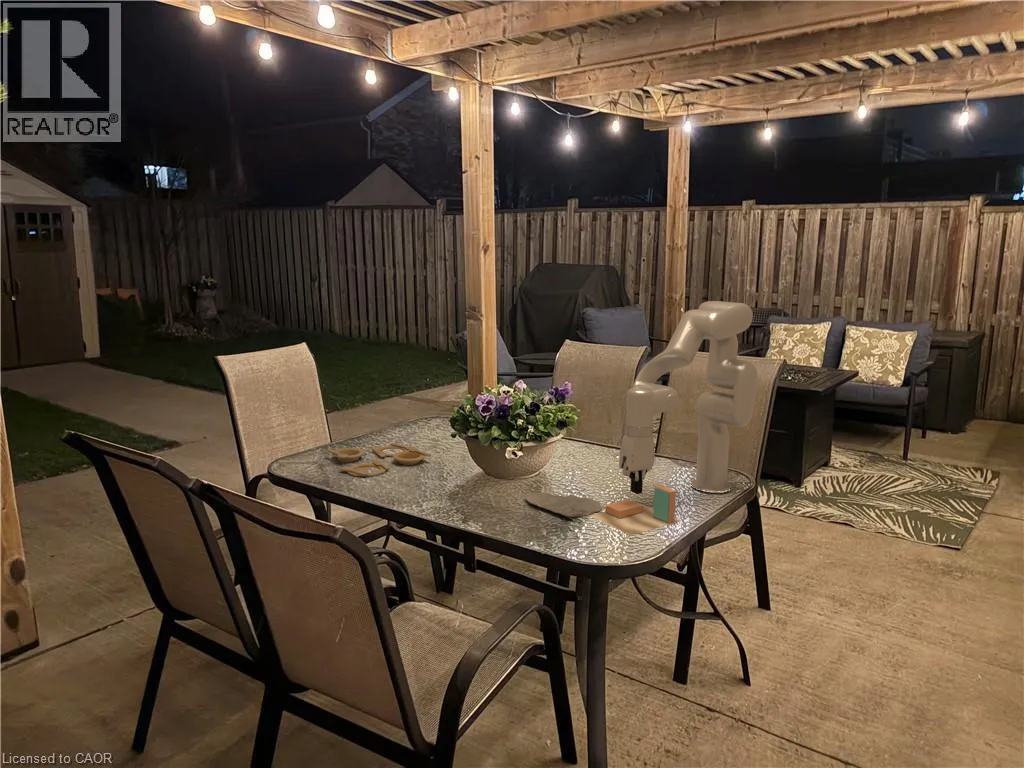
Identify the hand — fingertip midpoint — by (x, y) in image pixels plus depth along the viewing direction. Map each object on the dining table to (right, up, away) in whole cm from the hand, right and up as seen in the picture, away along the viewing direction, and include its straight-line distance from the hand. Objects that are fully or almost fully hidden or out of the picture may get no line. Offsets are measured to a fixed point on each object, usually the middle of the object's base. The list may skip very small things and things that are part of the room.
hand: (636, 492), depth 207 cm
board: (-1, -7, -6) cm, 9 cm away
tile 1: (0, -4, +1) cm, 4 cm away
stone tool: (-21, -6, +6) cm, 23 cm away
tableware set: (-84, +3, +51) cm, 98 cm away
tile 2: (+7, -7, -7) cm, 11 cm away
